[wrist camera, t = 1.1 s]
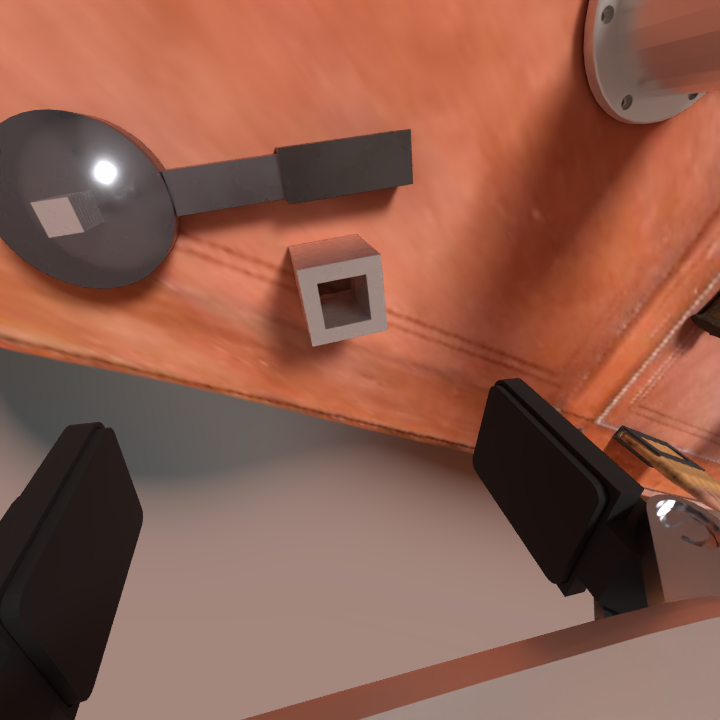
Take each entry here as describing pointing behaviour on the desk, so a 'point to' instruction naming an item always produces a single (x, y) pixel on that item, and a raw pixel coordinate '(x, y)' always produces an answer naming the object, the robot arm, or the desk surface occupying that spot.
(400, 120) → the desk surface
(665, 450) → the ammunition clip
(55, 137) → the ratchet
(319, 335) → the socket
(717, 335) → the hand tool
